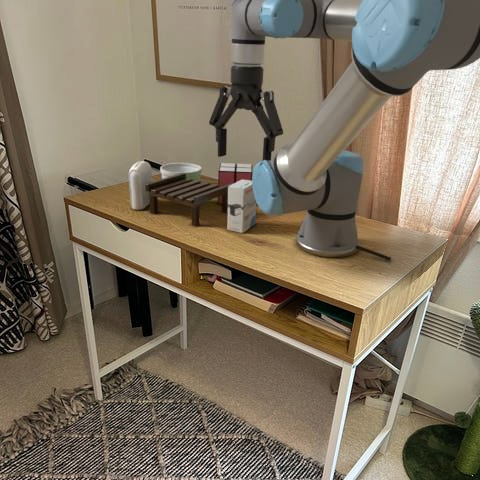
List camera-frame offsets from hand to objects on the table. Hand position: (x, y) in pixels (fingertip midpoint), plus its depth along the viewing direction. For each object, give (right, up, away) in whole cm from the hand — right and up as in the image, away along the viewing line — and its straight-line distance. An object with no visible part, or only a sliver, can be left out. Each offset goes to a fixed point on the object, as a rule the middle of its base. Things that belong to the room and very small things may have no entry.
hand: (243, 160), depth 122 cm
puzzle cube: (-2, -3, +29) cm, 29 cm away
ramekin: (-20, +3, +37) cm, 42 cm away
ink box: (-1, -15, +9) cm, 18 cm away
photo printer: (-30, -6, +22) cm, 38 cm away
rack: (-15, -9, +18) cm, 25 cm away
